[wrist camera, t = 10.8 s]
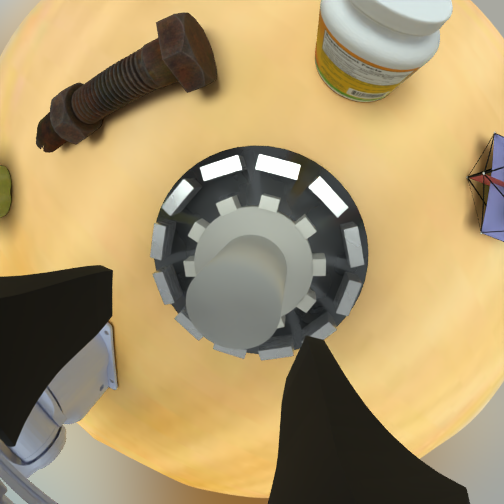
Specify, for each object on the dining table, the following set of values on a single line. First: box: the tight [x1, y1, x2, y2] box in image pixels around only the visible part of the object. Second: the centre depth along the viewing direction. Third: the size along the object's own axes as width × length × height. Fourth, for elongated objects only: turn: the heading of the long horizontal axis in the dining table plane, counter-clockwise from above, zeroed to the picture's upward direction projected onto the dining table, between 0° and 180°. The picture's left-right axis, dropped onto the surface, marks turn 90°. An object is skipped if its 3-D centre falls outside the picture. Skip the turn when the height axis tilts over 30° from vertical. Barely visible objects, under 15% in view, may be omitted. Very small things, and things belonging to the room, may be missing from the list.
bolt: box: [36, 13, 217, 153], centre depth 14 cm, size 6×5×15 cm
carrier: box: [150, 146, 368, 360], centre depth 17 cm, size 14×14×2 cm
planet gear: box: [183, 193, 326, 350], centre depth 14 cm, size 8×8×6 cm
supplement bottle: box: [315, 0, 452, 102], centre depth 9 cm, size 5×5×10 cm
